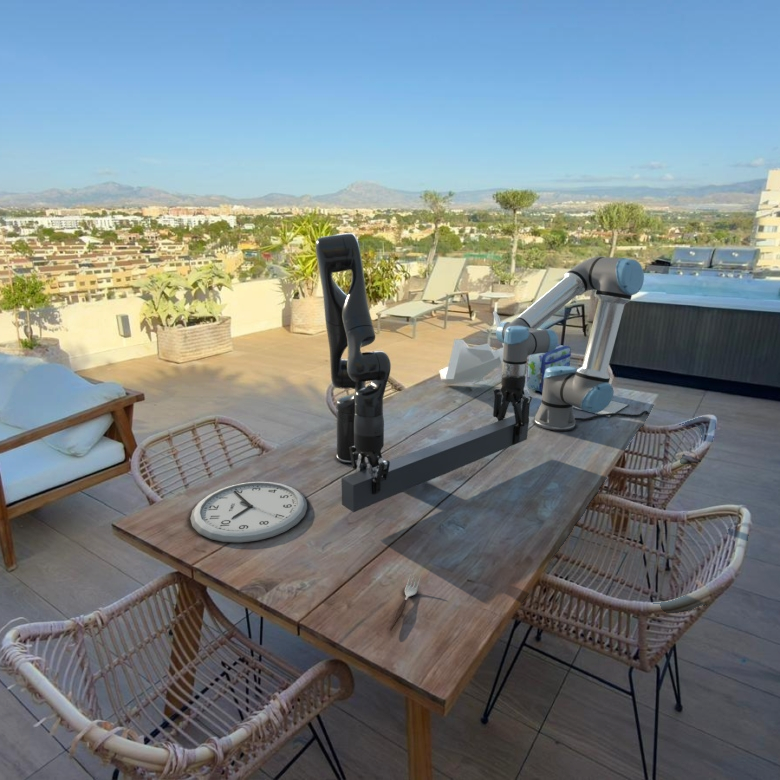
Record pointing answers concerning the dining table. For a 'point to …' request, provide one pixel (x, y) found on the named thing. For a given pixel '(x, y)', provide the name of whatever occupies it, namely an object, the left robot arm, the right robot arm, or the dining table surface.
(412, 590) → the fork
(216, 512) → the wall clock
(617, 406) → the invitation card
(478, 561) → the dining table surface
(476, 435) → the beam
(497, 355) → the white plastic object
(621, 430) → the dining table surface
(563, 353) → the lunch box
